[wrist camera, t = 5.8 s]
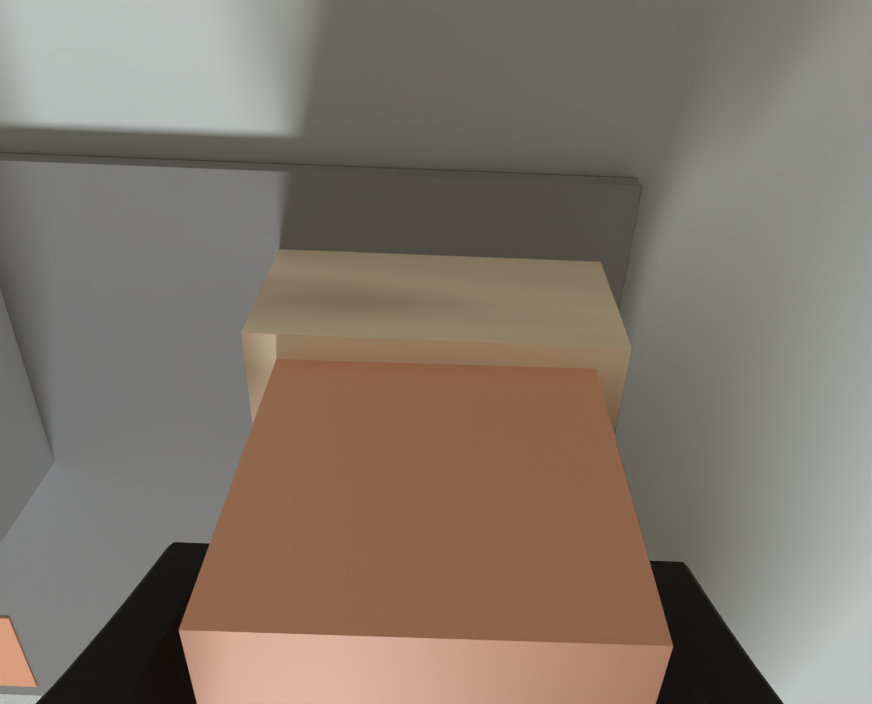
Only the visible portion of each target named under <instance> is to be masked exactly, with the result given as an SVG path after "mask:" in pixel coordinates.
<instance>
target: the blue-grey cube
mask: <svg viewBox="0 0 872 704" xmlns="http://www.w3.org/2000/svg"><path fill="white" fill-rule="evenodd" d="M53 464H54V459H53V456H52V453H51V449H50V446H49V443H48V440H47V437H46V433H45V430H44V427H43V424H42V421H41V417H40V414H39V411H38V408H37V405H36V401H35V398H34V395H33V392H32V389H31V385H30V382H29V379H28V376H27V373H26V369H25V366H24V363H23V360H22V357H21V353H20V350H19V347H18V344H17V341H16V337H15V334H14V331H13V328H12V325H11V321H10V318H9V315H8V312H7V309H6V305H5V302H4V299H3V296H2V293H1V290H0V543H1V542H2V540H3V539H4V537H5V536H6V534H7V533H8V531H9V530H10V528H11V527H12V525H13V524H14V522H15V521H16V519H17V518H18V516H19V515H20V513H21V512H22V510H23V509H24V507H25V506H26V504H27V503H28V501H29V500H30V498H31V497H32V495H33V494H34V492H35V491H36V489H37V488H38V486H39V485H40V483H41V482H42V480H43V479H44V477H45V476H46V474H47V473H48V471H49V470H50V468H51V467H52V465H53Z"/></svg>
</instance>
